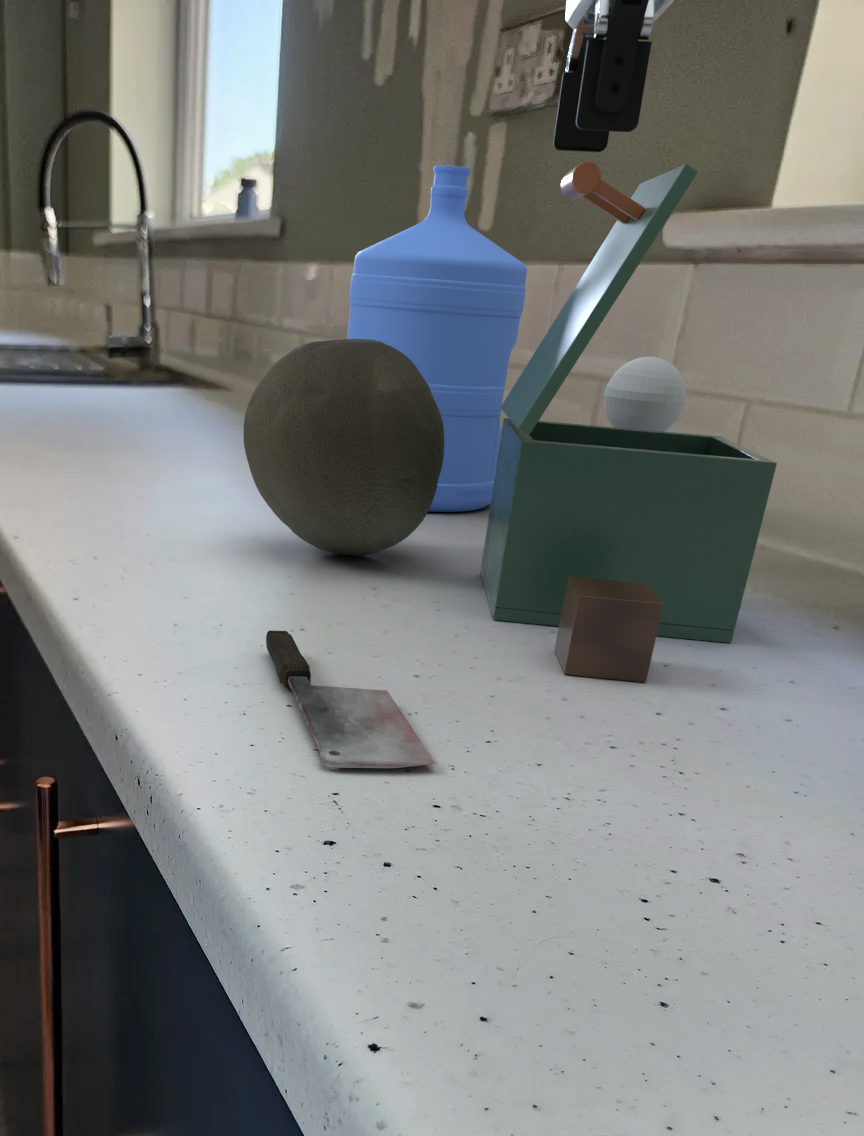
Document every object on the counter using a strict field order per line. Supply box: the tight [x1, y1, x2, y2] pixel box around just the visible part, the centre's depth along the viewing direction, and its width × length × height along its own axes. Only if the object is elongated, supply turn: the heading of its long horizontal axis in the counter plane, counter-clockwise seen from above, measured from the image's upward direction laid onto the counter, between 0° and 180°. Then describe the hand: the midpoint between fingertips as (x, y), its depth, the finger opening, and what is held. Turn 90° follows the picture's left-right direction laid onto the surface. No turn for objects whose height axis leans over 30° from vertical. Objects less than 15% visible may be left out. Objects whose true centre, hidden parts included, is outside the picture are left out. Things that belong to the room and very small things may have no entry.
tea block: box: [554, 576, 664, 683], centre depth 62 cm, size 4×4×4 cm
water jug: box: [346, 165, 528, 513], centre depth 103 cm, size 16×16×28 cm
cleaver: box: [265, 630, 436, 769], centre depth 54 cm, size 16×1×5 cm
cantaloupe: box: [243, 338, 444, 557], centre depth 81 cm, size 14×14×15 cm
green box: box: [479, 417, 778, 644], centre depth 73 cm, size 15×13×11 cm
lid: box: [501, 160, 699, 435], centre depth 68 cm, size 15×13×5 cm
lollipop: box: [603, 356, 687, 432], centre depth 87 cm, size 6×6×15 cm
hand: (591, 141), depth 64 cm, fingers open, 9 cm apart
